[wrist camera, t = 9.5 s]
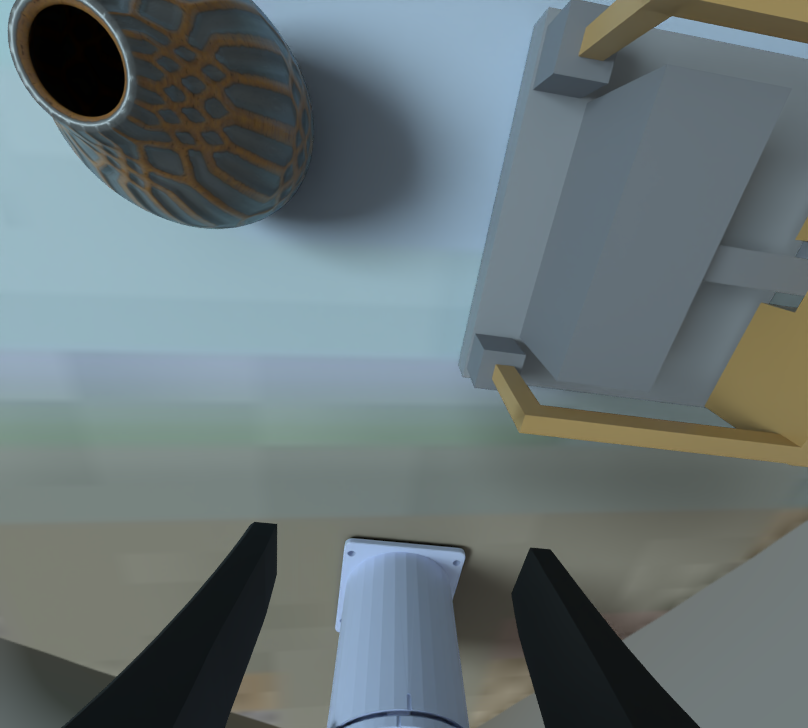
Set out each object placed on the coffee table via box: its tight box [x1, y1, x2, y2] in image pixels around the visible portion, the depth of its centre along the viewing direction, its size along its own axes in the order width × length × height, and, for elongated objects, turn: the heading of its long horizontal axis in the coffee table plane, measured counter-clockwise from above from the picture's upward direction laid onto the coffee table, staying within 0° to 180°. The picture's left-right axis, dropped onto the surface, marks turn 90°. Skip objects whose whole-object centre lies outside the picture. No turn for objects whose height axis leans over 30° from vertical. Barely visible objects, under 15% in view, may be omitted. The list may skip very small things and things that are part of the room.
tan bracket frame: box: [492, 0, 808, 467], centre depth 12 cm, size 11×12×4 cm
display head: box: [458, 0, 808, 408], centre depth 15 cm, size 13×14×6 cm
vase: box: [8, 0, 314, 229], centre depth 11 cm, size 7×7×9 cm
